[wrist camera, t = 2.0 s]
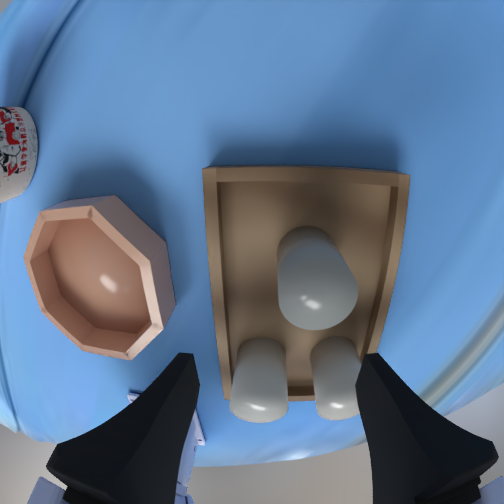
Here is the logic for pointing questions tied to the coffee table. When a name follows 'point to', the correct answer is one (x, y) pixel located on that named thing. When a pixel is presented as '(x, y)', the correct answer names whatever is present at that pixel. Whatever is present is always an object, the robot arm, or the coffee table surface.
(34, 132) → the teacup with lid
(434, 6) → the coffee table surface
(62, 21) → the coffee table surface
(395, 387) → the robot arm
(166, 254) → the bowl
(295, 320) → the grey rounded cylinder
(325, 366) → the light stone
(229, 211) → the tray
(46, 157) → the coffee table surface
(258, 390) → the light stone
